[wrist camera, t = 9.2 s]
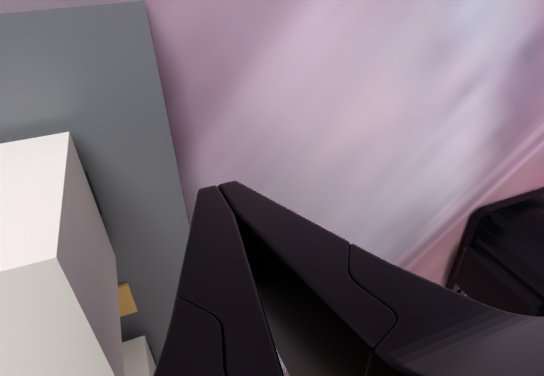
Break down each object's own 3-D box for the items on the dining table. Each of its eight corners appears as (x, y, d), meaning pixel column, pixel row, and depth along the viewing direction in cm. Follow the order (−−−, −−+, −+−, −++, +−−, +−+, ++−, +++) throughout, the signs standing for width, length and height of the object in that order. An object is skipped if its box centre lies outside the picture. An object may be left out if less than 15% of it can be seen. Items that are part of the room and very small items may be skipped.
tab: (69, 131, 8) (56, 256, 5) (115, 257, 10) (125, 397, 7) (-110, 162, 7) (-254, 336, 4) (-18, 292, 9) (-69, 468, 6)
